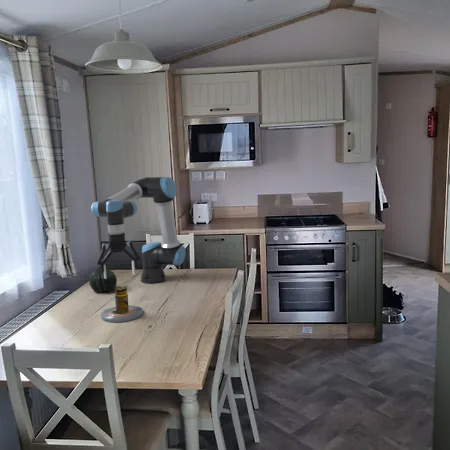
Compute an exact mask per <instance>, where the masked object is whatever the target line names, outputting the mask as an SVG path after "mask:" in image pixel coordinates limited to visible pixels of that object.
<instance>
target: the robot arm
mask: <svg viewBox="0 0 450 450" xmlns="http://www.w3.org/2000/svg"><path fill="white" fill-rule="evenodd" d="M177 190H178V189H177V184H176V182H175V180H174V179H172V177H166V176H154V177H153V176H152V177H150V176H149V177H147V176H146V177H142V178H139V179H137V180H134V181H133V182H131V183H129V184H128V185H127V187H126V188H124V189H122V190H121V191H119V192H117V193H115V194H113V195H111V196H109V197H108V198H106V199H104V200H103V201H101V200H100V201H94V202H92V204H91V207H90V208H91V209H90V210H91V214H92V215H93V216H94V217H99V218H106V220H107V221H106V222H107V233H108V244H105V243H102V245H101V246H102V247H101V250H100V253H99V255H98V258H97V260H96V265H98V266H101V271H102V272H104V278H105V279H107V278H106V268H107V267H106V263H107V261H108V260H109V258H110V257H111V256H112V255H113V254H114V253H115V254H117V253H122V252H124V253H125V254H126V255H127V256H129V257H130V259H132V260H131V269H132V274H133V276H135V275H136V268H137V266H138V265H137V264H138V260H139V261H140V259H142V272H141V276H140V282H141V283H143V284H152V285H153V284H158V283H163V282H165V281H166V280H167V277H166V273H165V271H164V270H165V269H164V268H163V265H164V266H165V265H166V266H180V265H182V264H183V262H184V261H185V258H186V247H185V245H182V244H181V241H180V240H179V239H178V235H177V227H176V222H175V215H174V208H173V201H174V200H175V197H176V196H177ZM141 198H146V199H147V198H148V199H149V198H150V199H151V198H152V201H153V202H154V204H156V206H157V207H156V208H157V213H158V218H159V225H160V233H161V238H162V239H161V240H162V242H159V241H156V242H150V243H149V242H148V243H146V244H144V245H142V248H141V256H142V258H141V257H140V255H139V254H138V252H137V250H136V249H135V247H134V245H133V242H132V241H131V240H129V241H126V234H125V221H124V219H126V218H129V217H132V216H135V215H136V214H137V212H138V205H137V204H136V203H135V202H134V200H136V201H137V200H140V199H141ZM127 246H128V247H129V248H130V249H131V251H132V253H133V254H134V256H133V255H132V253H131V252H129V250H127V249H126V247H127ZM108 248H109V249H108ZM106 249H108V250H109V251H108V252H107V253H106V255H105V252H106ZM104 255H105V256H104ZM103 257H104V258H103Z"/></svg>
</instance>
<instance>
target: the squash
mask: <svg viewBox="0 0 450 450" xmlns="http://www.w3.org/2000/svg"><path fill="white" fill-rule="evenodd" d="M89 276H90V277H89V280H88V283H89V286H90V288H91V289H92V290H93V291H94V292H95V293H102V292H105V291H106V292H112V291H113V290H115V288H116V286H117V281H118V279H117V276H116V273H114V271H112V270H110V269H109V268H107V267H106V278H107V279H105V278H104V272H102V271H101V265H98V266H97V267H96V269H94V271H92V273H91V274H90V275H89Z"/></svg>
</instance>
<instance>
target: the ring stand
mask: <svg viewBox="0 0 450 450" xmlns="http://www.w3.org/2000/svg"><path fill="white" fill-rule="evenodd" d="M128 306H129V311H130V312H131V313H127V314H122V315H116V316H114V315H113V314H112V313H111V312H110V311H115V310H116V306H114V307H110V308H106V309H104V311H102V312H101V313H100V319H101V320H103V321H104V322H108V323H124V322H125V323H127V322H131V321H134V320H137V319H139V318H140V317H142V316H143V315H144V310H143V308H142V307H140V306H137V305H129V304H128Z"/></svg>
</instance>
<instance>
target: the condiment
mask: <svg viewBox="0 0 450 450" xmlns="http://www.w3.org/2000/svg"><path fill="white" fill-rule="evenodd" d="M114 300H115V307H116V310H115V311H110V312H111V313H112V314H113V315H114V316H116V315H122V314H127V313H131V312H130V311H129V306H128V305H129V295H128V291H127V287H126V286H119V287H115V294H114Z"/></svg>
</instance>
